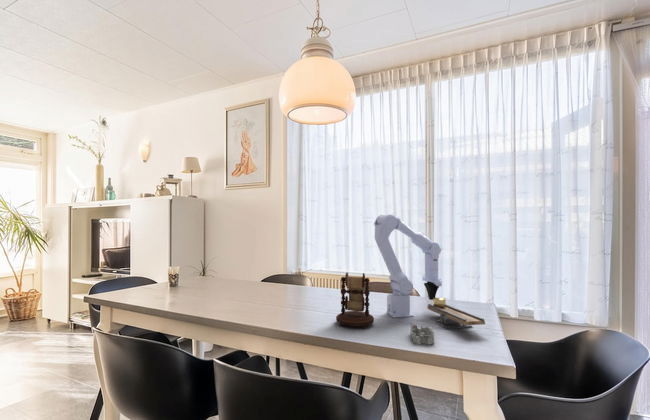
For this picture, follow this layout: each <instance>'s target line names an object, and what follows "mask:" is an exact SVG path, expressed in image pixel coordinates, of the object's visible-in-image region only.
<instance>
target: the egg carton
mask: <svg viewBox="0 0 650 420" xmlns="http://www.w3.org/2000/svg"><path fill="white" fill-rule="evenodd" d="M434 332H435V331H434V328H433V327H432V326H431V327H430V326H428V327H427V326H425V327H423V326H420V328H418V325H416V324H413V323H412V322H411V323H410V335H411V339H412V343H414V342H415V344H416V345H421V344H426V343H427V345H428V344H431V345H434V344H435V333H434ZM417 335H418V336H417ZM420 343H421V344H420Z"/></svg>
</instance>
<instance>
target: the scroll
mask: <svg viewBox="0 0 650 420" xmlns="http://www.w3.org/2000/svg"><path fill="white" fill-rule="evenodd" d="M340 281H341V285H340V286H341V289H340V294H341V299H340V300H341V301H340V305H341V310H340V313H339V314H337V315H336V317H335V318H336V319H335V321H336V322H337V323H338V324H339V326H340V327H343V325H344V326H351V327H363V328H364V329H367V327H368V326H369V325H372V324H373V323H375V322H374V321H375V317H374V316H373V315H371V314H370V310H369V309H370V302H369V300H370V298H369V295H370V292H371V291H370V290H369V289H370V287H369V284H370V278H369V277H366V274H365V272H363V273H362V276H351V275H350V276H349V272H345V275H344V276H342V277H341V278H340ZM364 289H365V290H364ZM346 294H348V295H346ZM345 295H346V296H345Z"/></svg>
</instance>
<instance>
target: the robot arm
mask: <svg viewBox="0 0 650 420" xmlns="http://www.w3.org/2000/svg"><path fill="white" fill-rule="evenodd" d="M373 225H374V240H375V243H376V246H377V247H378V250H379V252H380V254H381V257H382V259H383V261H384V263H385V266H386V268H387V270H388V272H389V276H388V278H389V281H390V283H389V284H390V285H389V286H390V288H391V289H392V293H390V294H387V297H386V313H387V314H389V316H391V317H392V318H406V317H407V318H408V317H409V318H410V317H414V314H413V313H411V293H412V292H413V290H414V284H413V282H412V281H411V280H409V278H408V276H407V274H406V273H404V272H403V269H402V267H401V265H400V263H399V261H398V258H397V256H396V253H395V251H394V249H393V246H392V244H391V242H390V240H389V237H390V235H391V234H392V233H393V232H394V230H397V231H398V232H401V233H402V234H403V235H405V236H406V237H408V238H410V241H411V243H412V244H413V245H415V246H416V247H418V248H419V249H420V250H421V251H422V253H423V254H424V275H423V276H422V281H425V282H424V283H423V284H424V287H425V289H426V290H425V291H426V293H427V297H428V299H429V300H430V301H433V298H436V295H437V293H438V290H439V288H440V287H442V286H443V285H442V283H443V282H442V279H441V278H440V277H439V258H440V254H441V252H442V248H441V247H440V245H439V244H438V243H437V242H433V239H432V238H429V237H427V236H425V233H424V232H422V231H421V232H420V231H418V232H416V231H414V230H413V229H412V228H411V227H409V226H408V224H406V223H404V221H402V220H401V219H400V218H398V217H397V216H396V215H394V214H380V215H378V216H377V217H376V218H375V221H374V222H373Z"/></svg>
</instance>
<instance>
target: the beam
mask: <svg viewBox="0 0 650 420" xmlns="http://www.w3.org/2000/svg"><path fill="white" fill-rule="evenodd" d="M427 310H429V311H431V312H433V313H436V314H438V315H440V313H443V314H444V318H446V317H447V318H449V319H451V320H453V321H455V322H458V323H460V324H462V325H472V326H475V325H476V326H479V325H481V326H482V325H486V320H485V318H483V317H480V316H478V315H475V314H472V313H471V312H470V313H469V312H466V311H465V310H461V309H459V308H456V307H454V306H451V305H448V304H446V308H438V307H435V306H433V304H430V303H428V304H427Z"/></svg>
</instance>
